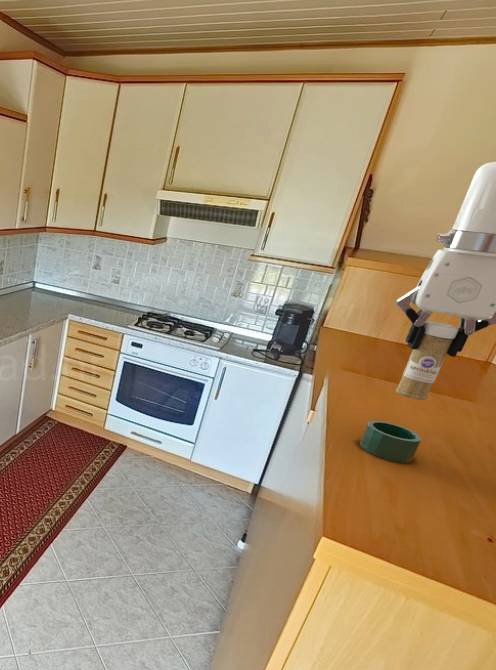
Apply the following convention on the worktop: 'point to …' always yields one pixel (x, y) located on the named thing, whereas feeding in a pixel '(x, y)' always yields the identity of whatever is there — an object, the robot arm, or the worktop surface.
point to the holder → (390, 441)
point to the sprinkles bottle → (426, 360)
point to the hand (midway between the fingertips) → (430, 350)
